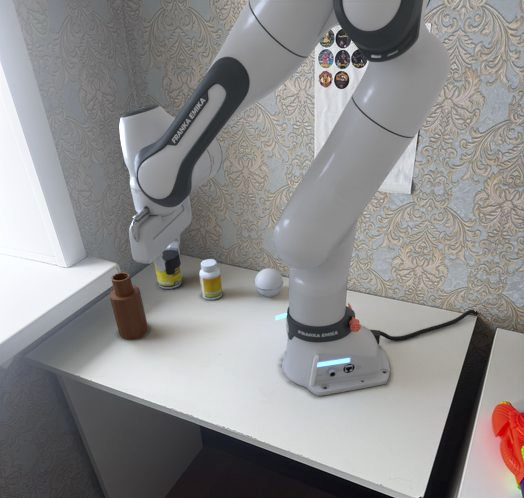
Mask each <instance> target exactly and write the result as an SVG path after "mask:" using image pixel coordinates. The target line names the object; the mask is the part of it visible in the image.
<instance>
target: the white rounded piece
mask: <svg viewBox="0 0 524 498" xmlns="http://www.w3.org/2000/svg"><path fill="white" fill-rule="evenodd" d="M254 286H255V290H256V291H257V292H258V293H259V295H261V296H263V297H266V298H271V297H275V296H276V295H278V294H279V293H280V292H281V291H282V289H283V287H284V278H283V275H282V274H281V273H280V272H279V271H278V270H276V269H275V268H272V267H267V268H263V269H261V270H260V271H259V272H258V273H257V274H256V276H255V277H254ZM285 287H288V288H289V285H287V286H286V285H285Z"/></svg>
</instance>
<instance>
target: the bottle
mask: <svg viewBox="0 0 524 498" xmlns="http://www.w3.org/2000/svg"><path fill="white" fill-rule="evenodd" d="M110 280H111V284H112V287H113V288H112V289H111V290H109V293H108V297H109V301H110V305H111V308H112V312H113V315H114V318H115V323H116V327H117V330H118V334H119V336H120V337H121V338H122V339H123V340H127V341H133V340H138V339H141V338H143V337H144V336H146V335H147V334H148V333H149V325H148V321H147V316H146V311H145V307H144V302H143V300H142V299H143V298H142V293H141V289H140V287H138V286H137V285H135V284H133V283H132V278H131V274H129V273H128V272H125V271H122V272H118V273H115V274H113V275H112V276H111V277H110Z"/></svg>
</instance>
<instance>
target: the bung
mask: <svg viewBox="0 0 524 498" xmlns="http://www.w3.org/2000/svg"><path fill="white" fill-rule="evenodd" d="M162 253H163V256H162V258H163V260H164V261H167V266H168V267H167V269H166V270H165V271H166V274H167V275H172V274H174V273H175V269H176V268H178V267H179V266H180V267H181V264H182V263H181V256H180V255H179V252H178V251H176V250H164V251H163V252H162Z"/></svg>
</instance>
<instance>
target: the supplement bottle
mask: <svg viewBox="0 0 524 498" xmlns="http://www.w3.org/2000/svg"><path fill="white" fill-rule="evenodd" d="M198 274H199V283H200V290H201V297H202V298H203V299H205V300H208V301H214V300H218V299H220V298H221V297H222V295H223V285H222V276H221V274H222V273H221V270H220V268H219V267H218V262H217V260H215V259H214V258H207V259H204V260H202V261H201V262H200V270H199V273H198Z"/></svg>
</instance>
